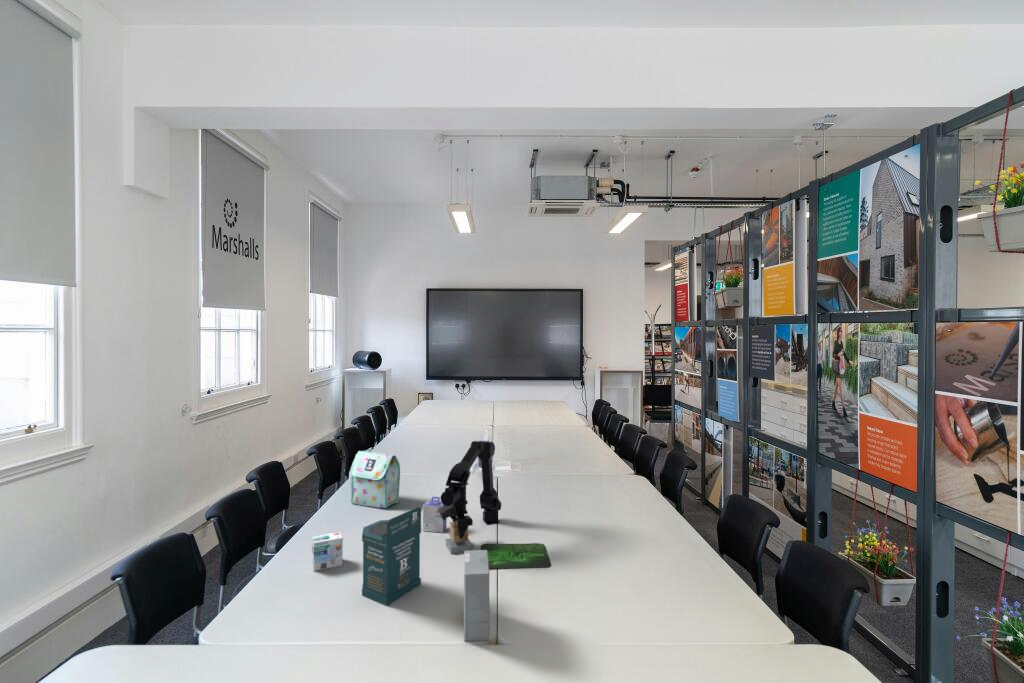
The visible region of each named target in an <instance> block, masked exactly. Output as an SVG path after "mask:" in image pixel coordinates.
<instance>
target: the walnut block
mask: <svg viewBox="0 0 1024 683" xmlns="http://www.w3.org/2000/svg"><path fill="white" fill-rule="evenodd" d="M455 523H456V522H453V521H451V522H450V523H449V537H450V538H451V539H452V540H453V542H459V541H465V540H468V539H469V527H468V528H467V530H466V532H465V534H464V536H463V538H462V539H460V536H459V530H458V527H457V526H456V525H455Z"/></svg>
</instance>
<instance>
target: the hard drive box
mask: <svg viewBox="0 0 1024 683" xmlns="http://www.w3.org/2000/svg"><path fill="white" fill-rule="evenodd" d="M463 553H464V554H463V555H464V557H463V558H464V559H463V561H464V562H463V565H464V566H463V641H464V642H478V641H481V642H482V641H490V569H489V560H488V551H487V550H481V549H478V550H477V549H476V550H475V549H473V550H471V551H464V552H463Z"/></svg>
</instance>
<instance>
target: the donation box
mask: <svg viewBox="0 0 1024 683" xmlns="http://www.w3.org/2000/svg"><path fill="white" fill-rule="evenodd" d="M421 534H422V508H421V507H420V506H418V507H416V508H413V509H410V510H409V511H406V512H404V513H402V514H399V515H397V516H395V517H392V518H390V519H385V520H384V519H383V520H378V521H375V522H373V523H371V524H368V525H366V526H364V527H363V528H362V534H361V542H362V551H363V552H362V556H363V557H362V560H363V561H362V575H363V576H362V586H361V588H362V589H361V596H363V597H364V598H367V599H369V600H372V601H374V602H376V603H378V604H381V605H383V606H385V607H388V606H390V605H391V604H392V603H394V602H395V601H396V602H397V600H399V599H401V598H402V597H404V596H405V595H407V594H409V593H410V592H412V591H414V590H415V589H417V588H418V587H420V586H421V585H422V578H421V577H420V576H421V575H420V574H421V573H420V571H421V569H420V568H421V567H420V565H421V564H420V563H421V560H420V558H421V557H420V555H421V554H420V552H421V546H420V545H421V543H420V542H421V540H420V539H421Z"/></svg>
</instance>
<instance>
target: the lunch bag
mask: <svg viewBox="0 0 1024 683" xmlns="http://www.w3.org/2000/svg"><path fill="white" fill-rule="evenodd" d="M349 471H350V473H349V474H350V475H351V477H350V478H351V483H350V485H351V486H350V488H351V490H350V491H351V496H350V503H351V504H354V505H359V506H366V507H373V508H379V509H387V508H389V506H392V505H394V504H397V503H399V502H400V485H401V483H400V482H401V481H400V480H401V466H400V462H399V459H398V458H397V455H395V454H389V453H385V452H378V451H377V452H376V451H368V450H358V451H357V453H356V454H355V457H354V459H353V461H352V464H351V466H350V470H349Z"/></svg>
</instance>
